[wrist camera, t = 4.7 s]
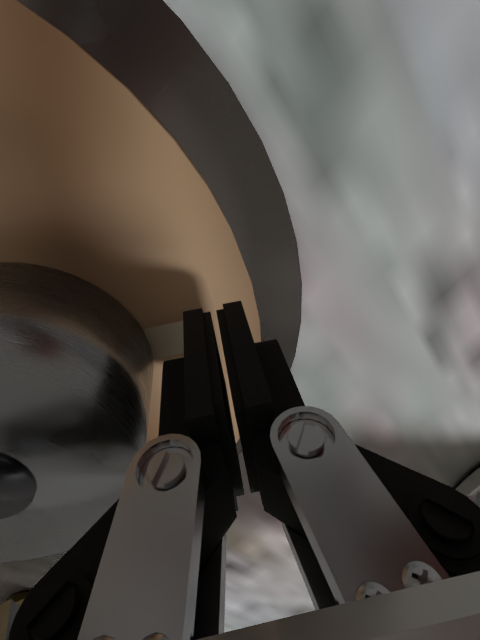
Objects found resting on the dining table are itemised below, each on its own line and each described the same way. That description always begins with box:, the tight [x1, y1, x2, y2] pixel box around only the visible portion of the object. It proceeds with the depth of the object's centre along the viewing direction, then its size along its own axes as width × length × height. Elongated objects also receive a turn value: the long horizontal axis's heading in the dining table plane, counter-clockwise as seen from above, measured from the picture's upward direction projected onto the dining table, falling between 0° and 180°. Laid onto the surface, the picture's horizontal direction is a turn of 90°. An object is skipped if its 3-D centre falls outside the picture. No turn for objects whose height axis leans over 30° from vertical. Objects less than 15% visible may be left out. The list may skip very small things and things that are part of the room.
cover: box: [0, 262, 154, 563], centre depth 9 cm, size 7×7×4 cm
